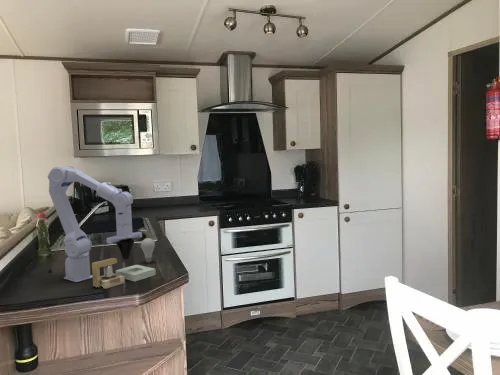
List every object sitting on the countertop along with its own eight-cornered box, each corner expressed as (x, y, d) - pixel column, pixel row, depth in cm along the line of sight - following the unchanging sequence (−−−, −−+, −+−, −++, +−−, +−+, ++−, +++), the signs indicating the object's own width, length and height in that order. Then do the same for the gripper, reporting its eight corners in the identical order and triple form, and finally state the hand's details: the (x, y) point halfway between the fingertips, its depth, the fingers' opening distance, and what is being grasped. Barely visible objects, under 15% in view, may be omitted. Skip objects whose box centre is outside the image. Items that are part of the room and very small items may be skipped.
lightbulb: (141, 265, 172) (140, 240, 171) (141, 261, 178) (140, 237, 177) (156, 263, 174) (155, 239, 173) (155, 260, 180) (154, 236, 179)
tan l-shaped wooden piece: (93, 286, 143) (91, 262, 142) (113, 280, 149) (112, 257, 149) (97, 287, 141) (96, 263, 140) (118, 281, 148) (117, 258, 147)
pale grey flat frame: (115, 276, 155) (115, 270, 155) (136, 270, 163) (136, 264, 163) (134, 281, 148) (134, 275, 148) (155, 275, 156) (155, 268, 156)
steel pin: (102, 284, 146) (101, 265, 145) (110, 282, 148) (109, 263, 148) (107, 285, 144) (106, 266, 144) (114, 283, 146) (113, 265, 146)
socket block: (93, 285, 145) (92, 278, 145) (112, 279, 152) (111, 273, 152) (105, 288, 141) (105, 281, 140) (124, 282, 147) (124, 276, 147)
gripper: (113, 227, 143) (115, 264, 144) (146, 221, 154) (147, 255, 155) (102, 225, 147) (104, 261, 148) (134, 220, 159) (136, 253, 160)
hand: (125, 258), depth 152 cm, fingers closed
